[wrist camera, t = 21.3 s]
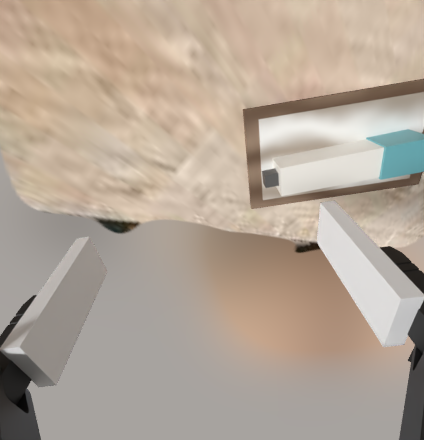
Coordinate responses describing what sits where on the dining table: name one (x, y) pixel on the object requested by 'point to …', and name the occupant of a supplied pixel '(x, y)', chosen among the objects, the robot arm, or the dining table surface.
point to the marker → (348, 163)
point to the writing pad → (328, 134)
